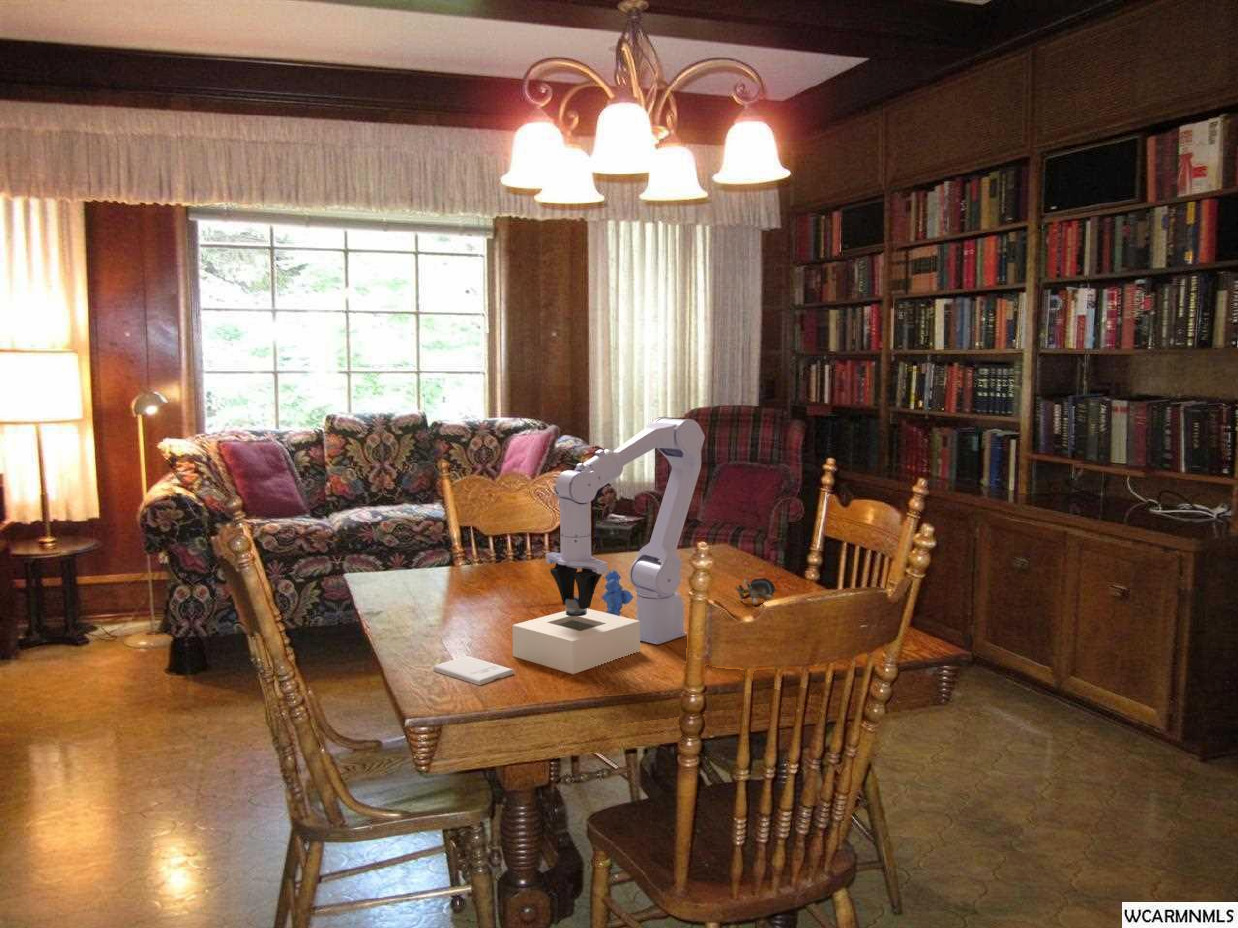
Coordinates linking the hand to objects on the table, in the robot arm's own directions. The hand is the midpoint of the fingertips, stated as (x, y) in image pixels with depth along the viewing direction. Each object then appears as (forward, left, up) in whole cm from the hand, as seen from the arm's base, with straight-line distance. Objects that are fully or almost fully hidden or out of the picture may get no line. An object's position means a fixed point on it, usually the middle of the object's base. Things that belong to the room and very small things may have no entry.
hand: (576, 605), depth 187 cm
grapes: (-20, -8, -10) cm, 24 cm away
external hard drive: (+20, -6, -10) cm, 23 cm away
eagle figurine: (-54, +4, -10) cm, 55 cm away
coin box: (0, 0, -9) cm, 9 cm away
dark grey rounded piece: (0, 0, -2) cm, 2 cm away
